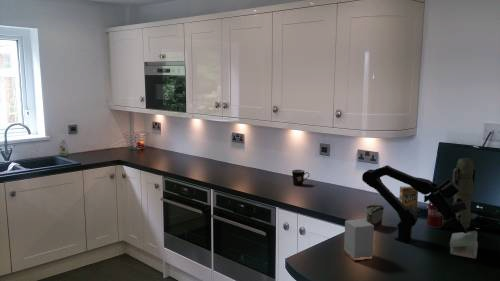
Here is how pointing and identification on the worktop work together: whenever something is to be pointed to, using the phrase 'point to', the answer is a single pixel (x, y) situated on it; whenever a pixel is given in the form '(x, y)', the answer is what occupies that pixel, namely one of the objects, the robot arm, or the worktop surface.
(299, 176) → the coffee mug
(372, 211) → the food container
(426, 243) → the worktop surface
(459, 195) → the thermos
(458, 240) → the cover
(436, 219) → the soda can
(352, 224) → the supplement box
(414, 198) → the candy box
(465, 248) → the beige tray
